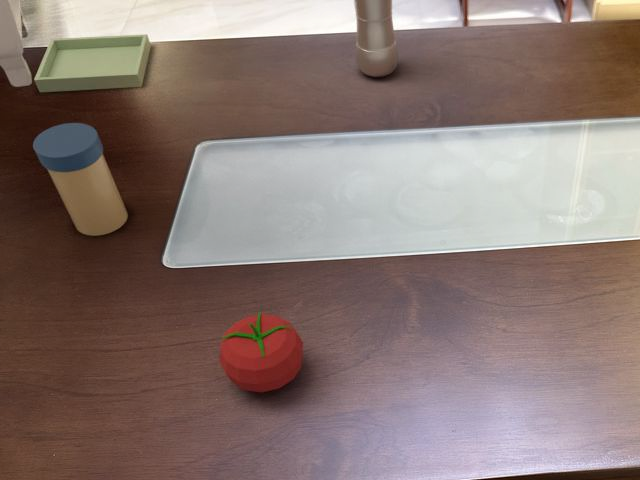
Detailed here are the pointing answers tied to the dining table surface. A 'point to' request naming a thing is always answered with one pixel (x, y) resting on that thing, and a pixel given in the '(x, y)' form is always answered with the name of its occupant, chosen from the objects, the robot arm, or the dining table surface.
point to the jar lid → (68, 147)
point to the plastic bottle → (375, 37)
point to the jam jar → (91, 198)
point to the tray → (93, 63)
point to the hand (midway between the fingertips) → (21, 58)
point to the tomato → (261, 353)
